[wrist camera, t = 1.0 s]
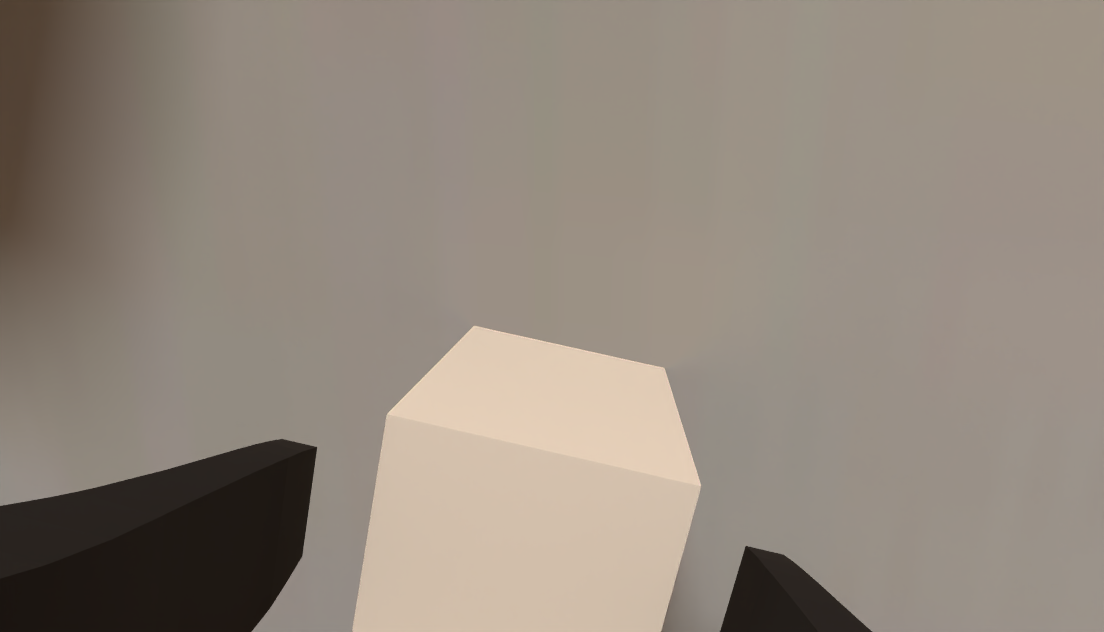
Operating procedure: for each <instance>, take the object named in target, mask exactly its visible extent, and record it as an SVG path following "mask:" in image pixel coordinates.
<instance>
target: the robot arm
mask: <svg viewBox="0 0 1104 632" xmlns="http://www.w3.org/2000/svg"><path fill="white" fill-rule="evenodd" d="M316 451H317V447H314V446H310V445H305V444H301V443H297V442H292V441H288V440H284V439H280V440H273V441H268V442H264V443H259V444H255V445H252V446H248V447H244V448H241V449H237V450H234V451H230V452H227V453H223V454H220V455H216V456H213V457H209V458H206V459H202V460H199V461H195V462H192V463H188V464H185V465H181V466H178V467H174V468H171V469H167V470H164V471H160V472H156V473H152V474H148V475H144V476H140V477H136V478H132V479H128V480H124V481H120V482H116V483H112V484H108V485H105V486H101V487H97V488H92V489H88V490H83V491H79V492H74V493H69V494H64V495H59V496H54V497H49V498H44V499H38V500H32V501H27V502H21V503H15V504H10V505H4V506H0V632H251V631H252V630H253V629H254V628H255V626H256V625H257V624H258V623H259V621H260V620H261V619H262V618H263V616H264V615H265V614H266V613H267V611H268V610H269V609H270V607H271V606H272V604H273V603H274V601H275V600H276V598H277V596H278V595H279V593H280V592H281V590H282V589H283V587H284V586H285V584H286V582H287V581H288V579H289V577H290V576H291V574H292V572H293V571H294V569H295V567H296V566H297V564H298V562H299V561H300V559H301V557H302V554H303V546H304V539H305V532H306V524H307V517H308V510H309V503H310V495H311V488H312V481H313V473H314V466H315V459H316ZM720 632H872V631H871V630H869V629H868V628H867V627H866V626H865V625H864V624H863V623H862V622H861V621H859V620H858V619H857V618H856V617H855V616H854V615H853V614H852V613H851V612H849V611H848V610H847V609H846V608H845V607H844V606H843V605H842V604H841V603H840V602H838V601H837V600H836V599H835V598H834V597H833V596H832V595H831V594H830V593H829V592H827V591H826V590H825V589H824V588H823V587H822V586H821V585H820V584H819V583H818V582H816V581H815V580H814V579H813V578H812V577H811V576H810V575H808V574H807V573H806V572H805V571H804V570H803V569H801V568H800V567H799V566H798V565H797V564H795V563H794V562H793V561H792V560H790V559H789V558H787V557H786V556H785V555H782V554H778V553H774V552H769V551H765V550H761V549H756V548H752V547H748V546H746V547H745V551H744V554H743V557H742V561H741V564H740V567H739V571H738V574H737V577H736V581H735V584H734V587H733V591H732V594H731V597H730V601H729V604H728V607H727V611H726V614H725V617H724V621H723V624H722V627H721V631H720Z"/></svg>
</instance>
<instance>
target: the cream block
mask: <svg viewBox="0 0 1104 632" xmlns="http://www.w3.org/2000/svg"><path fill="white" fill-rule="evenodd" d="M700 489H701V484H700V481H699V477H698V474H697V471H696V468H695V465H694V461H693V458H692V455H691V452H690V449H689V445H688V442H687V439H686V436H685V433H684V429H683V426H682V423H681V420H680V416H679V413H678V410H677V407H676V404H675V400H674V397H673V394H672V391H671V388H670V384H669V381H668V378H667V375H666V372H665V368H662V367H657V366H653V365H648V364H644V363H639V362H635V361H630V360H626V359H621V358H617V357H612V356H608V355H603V354H599V353H594V352H590V351H585V350H581V349H576V348H572V347H567V346H563V345H558V344H554V343H549V342H545V341H540V340H536V339H531V338H527V337H522V336H518V335H513V334H509V333H504V332H500V331H495V330H491V329H486V328H482V327H477V326H473V327H472V328H471V329H470V330H469V331H468V332H467V333H466V335H465V336H464V337H463V338H462V339H461V340H460V341H459V342H458V343H457V344H456V345H455V346H454V347H453V348H452V349H451V350H450V351H449V352H448V353H447V354H446V355H445V356H444V357H443V358H442V359H441V360H440V361H439V362H438V363H437V364H436V365H435V366H434V367H433V368H432V369H431V370H430V371H429V372H428V373H427V374H426V375H425V376H424V377H423V378H422V379H421V380H420V381H419V382H418V383H417V384H416V385H415V386H414V387H413V388H412V389H411V390H410V391H409V392H408V393H407V394H406V395H405V396H404V397H403V398H402V399H401V400H400V401H399V402H398V403H397V404H396V405H395V406H394V407H393V408H392V409H391V411H390V412H389V413H388V414H387V417H386V423H385V429H384V436H383V442H382V448H381V454H380V461H379V467H378V473H377V480H376V486H375V492H374V498H373V505H372V511H371V517H370V523H369V530H368V536H367V542H366V549H365V555H364V561H363V567H362V574H361V580H360V586H359V592H358V599H357V605H356V611H355V618H354V624H353V630H352V632H661V630H662V626H663V623H664V619H665V616H666V612H667V608H668V605H669V601H670V597H671V594H672V590H673V587H674V583H675V579H676V576H677V572H678V569H679V565H680V561H681V558H682V554H683V551H684V547H685V543H686V540H687V536H688V532H689V529H690V525H691V522H692V518H693V514H694V511H695V507H696V504H697V500H698V496H699V493H700Z"/></svg>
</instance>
